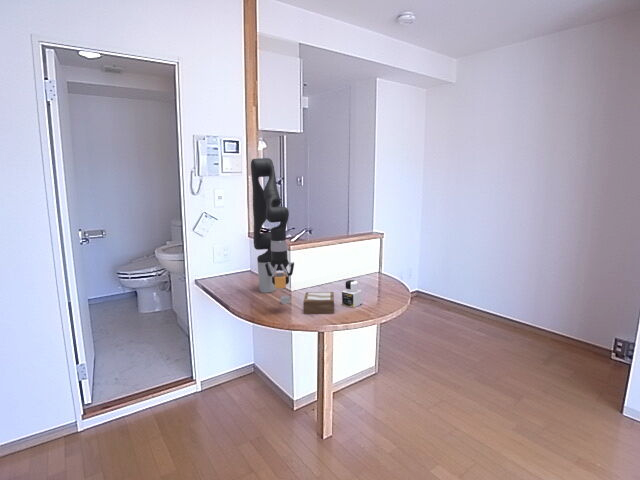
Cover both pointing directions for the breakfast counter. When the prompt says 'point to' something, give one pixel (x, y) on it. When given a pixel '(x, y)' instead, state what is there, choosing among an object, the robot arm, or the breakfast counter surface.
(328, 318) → the breakfast counter surface
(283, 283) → the block
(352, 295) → the medicine bottle
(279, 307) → the breakfast counter surface
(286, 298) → the grey metal block
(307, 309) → the brown square box
